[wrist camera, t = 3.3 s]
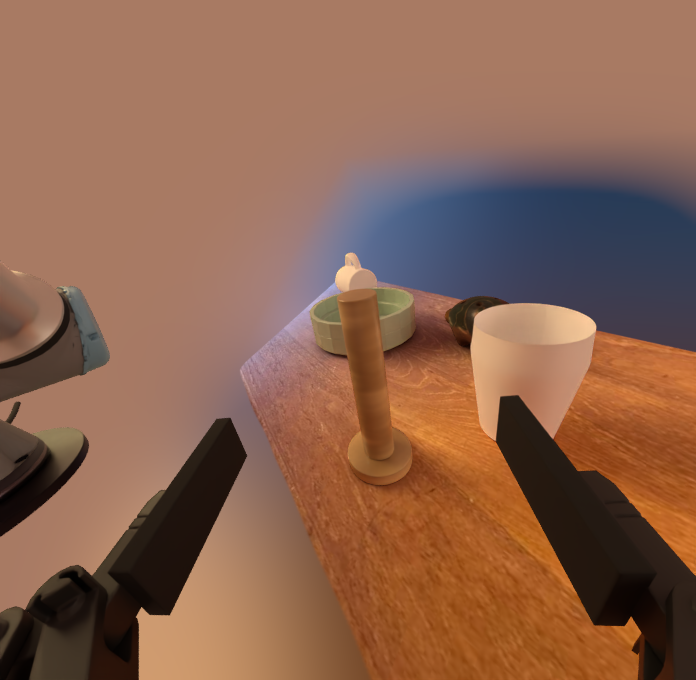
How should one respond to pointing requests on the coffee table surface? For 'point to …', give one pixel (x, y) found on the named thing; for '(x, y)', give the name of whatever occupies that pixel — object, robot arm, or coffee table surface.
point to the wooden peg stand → (371, 394)
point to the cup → (530, 360)
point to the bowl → (392, 314)
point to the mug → (354, 275)
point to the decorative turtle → (468, 316)
